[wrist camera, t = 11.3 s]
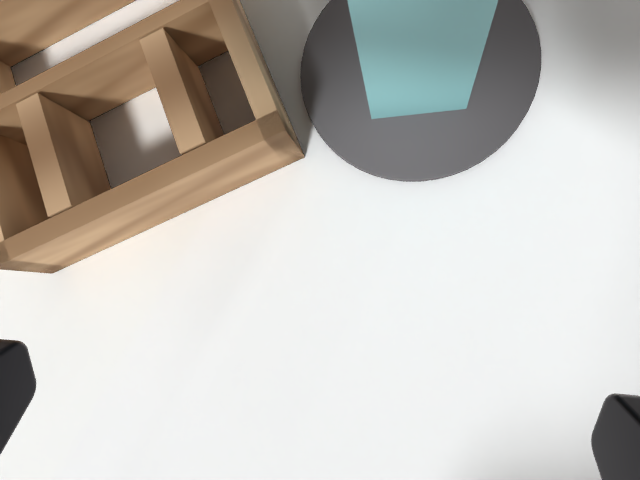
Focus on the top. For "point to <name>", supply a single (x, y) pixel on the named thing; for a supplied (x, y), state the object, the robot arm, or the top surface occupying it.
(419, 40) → the tall teal pillar
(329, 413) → the top surface
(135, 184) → the box
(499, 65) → the disc
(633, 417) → the robot arm
